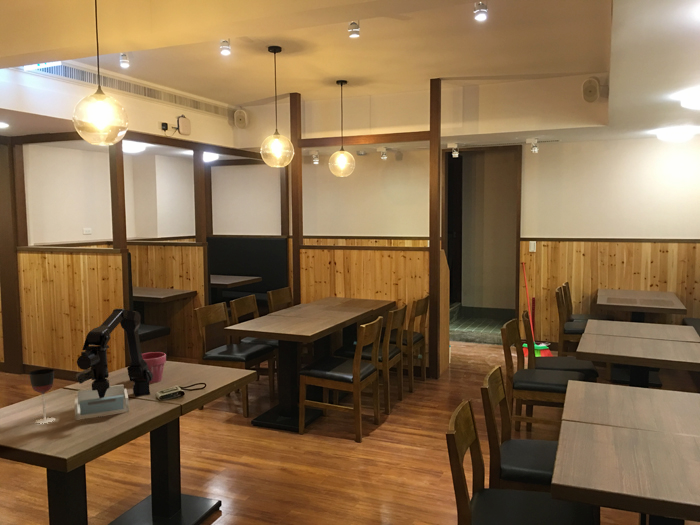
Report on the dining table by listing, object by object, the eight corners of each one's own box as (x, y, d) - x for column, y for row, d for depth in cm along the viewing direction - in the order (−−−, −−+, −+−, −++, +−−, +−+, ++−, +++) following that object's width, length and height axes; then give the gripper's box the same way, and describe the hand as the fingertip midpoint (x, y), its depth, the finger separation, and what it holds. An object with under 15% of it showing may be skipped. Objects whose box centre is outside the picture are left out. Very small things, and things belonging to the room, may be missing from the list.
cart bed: (126, 401, 245) (125, 384, 244) (129, 411, 232) (128, 392, 232) (76, 409, 236) (74, 390, 236) (75, 420, 224) (74, 400, 223)
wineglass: (40, 417, 228) (36, 369, 226) (61, 417, 227) (58, 368, 226) (28, 424, 220) (24, 374, 218) (50, 424, 220) (46, 374, 218)
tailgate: (123, 406, 231) (123, 394, 227) (123, 409, 230) (123, 397, 226) (80, 413, 224) (79, 400, 220) (80, 416, 223) (79, 404, 219)
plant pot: (134, 386, 267) (132, 360, 266) (138, 378, 281) (136, 353, 280) (165, 383, 270) (164, 357, 269) (168, 375, 284) (166, 350, 283)
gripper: (77, 358, 227) (79, 395, 229) (76, 371, 211) (78, 411, 212) (107, 354, 232) (109, 391, 234) (108, 367, 215) (110, 406, 217)
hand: (101, 399), depth 224 cm, fingers closed, pressing on tailgate
